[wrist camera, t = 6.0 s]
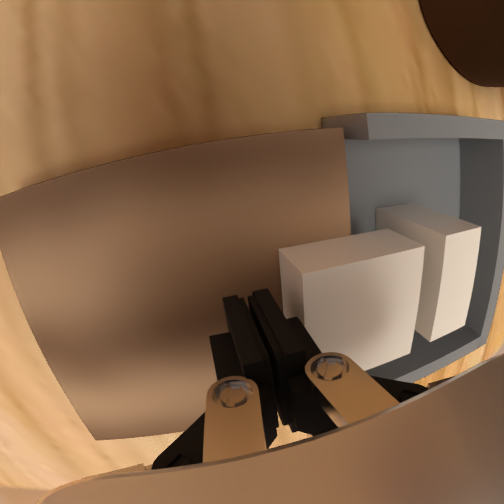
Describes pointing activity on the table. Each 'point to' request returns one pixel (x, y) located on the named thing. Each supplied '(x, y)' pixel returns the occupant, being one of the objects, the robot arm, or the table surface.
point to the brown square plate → (163, 265)
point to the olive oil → (470, 36)
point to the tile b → (438, 264)
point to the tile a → (355, 293)
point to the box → (432, 206)
